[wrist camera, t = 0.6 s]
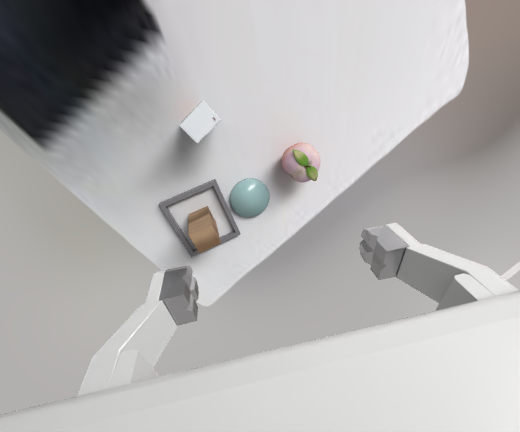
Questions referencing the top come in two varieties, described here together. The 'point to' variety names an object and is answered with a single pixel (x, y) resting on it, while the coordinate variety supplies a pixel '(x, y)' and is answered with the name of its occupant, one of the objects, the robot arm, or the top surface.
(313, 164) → the decorative fruit
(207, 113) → the skincare box
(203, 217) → the walnut block
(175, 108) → the top surface
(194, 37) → the top surface
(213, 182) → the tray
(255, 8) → the top surface
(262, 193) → the teal round disc
